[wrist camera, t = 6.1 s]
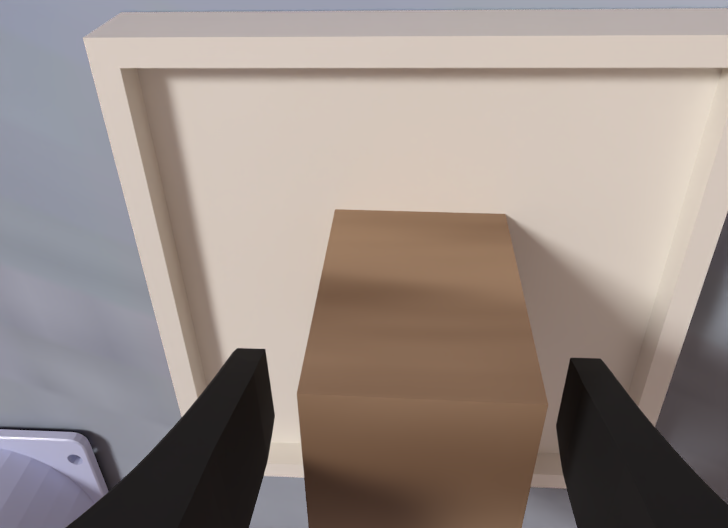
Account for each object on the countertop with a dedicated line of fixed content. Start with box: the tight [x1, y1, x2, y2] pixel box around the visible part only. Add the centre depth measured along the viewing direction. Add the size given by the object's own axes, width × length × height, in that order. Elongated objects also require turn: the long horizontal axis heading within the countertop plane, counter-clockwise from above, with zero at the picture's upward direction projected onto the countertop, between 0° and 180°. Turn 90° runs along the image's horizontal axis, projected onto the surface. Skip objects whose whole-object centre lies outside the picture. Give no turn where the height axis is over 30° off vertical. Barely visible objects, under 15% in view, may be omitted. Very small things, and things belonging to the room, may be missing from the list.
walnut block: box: [297, 209, 548, 528], centre depth 14 cm, size 4×4×6 cm
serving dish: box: [83, 8, 728, 489], centre depth 17 cm, size 13×13×2 cm
